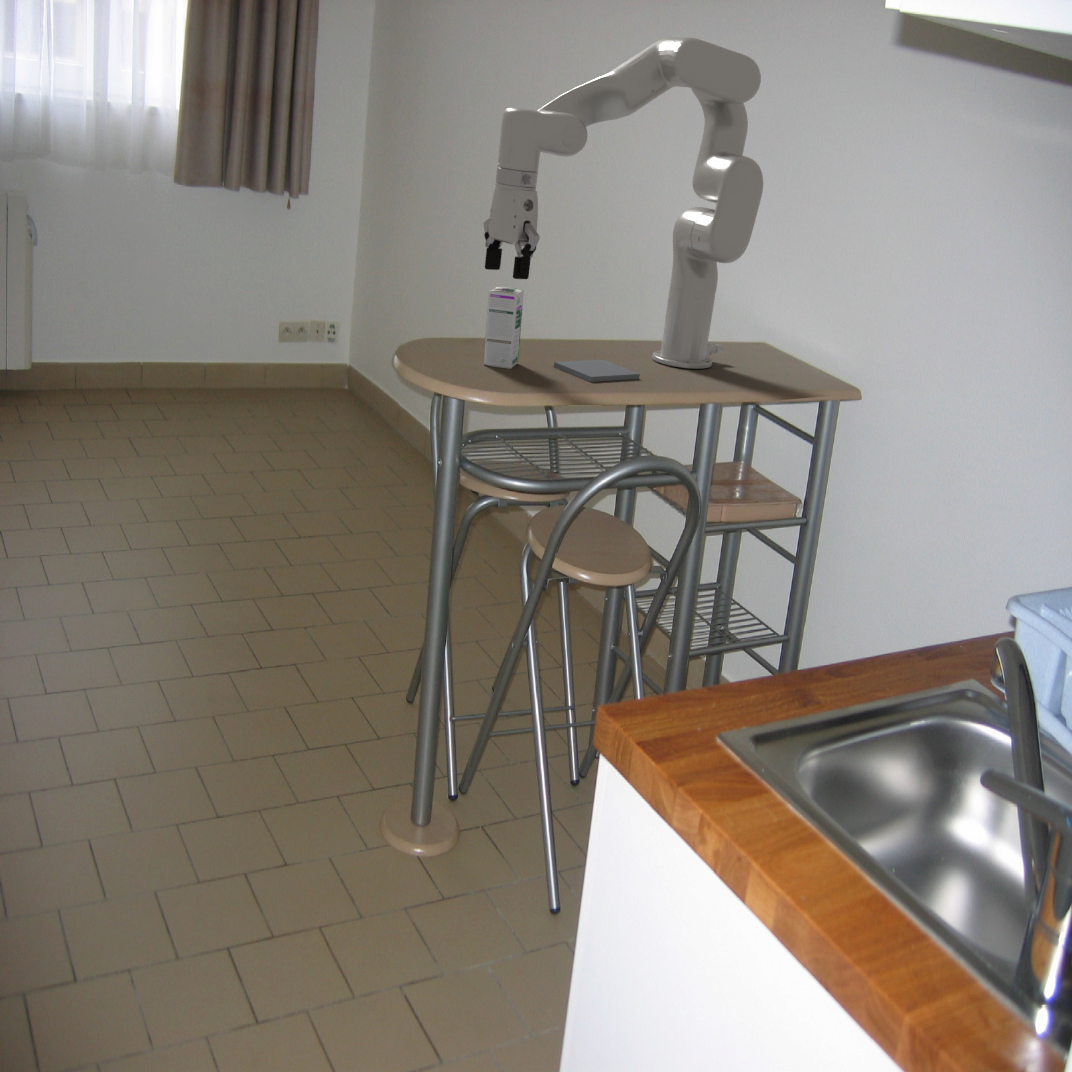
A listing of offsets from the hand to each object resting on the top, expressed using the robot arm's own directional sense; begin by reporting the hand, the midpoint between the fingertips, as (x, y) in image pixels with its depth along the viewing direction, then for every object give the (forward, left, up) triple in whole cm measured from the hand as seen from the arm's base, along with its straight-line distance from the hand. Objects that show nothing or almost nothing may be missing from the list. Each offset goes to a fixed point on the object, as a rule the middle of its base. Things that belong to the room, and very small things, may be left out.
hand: (506, 274), depth 214 cm
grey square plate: (-17, +10, -17) cm, 26 cm away
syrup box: (-1, 0, -18) cm, 18 cm away
